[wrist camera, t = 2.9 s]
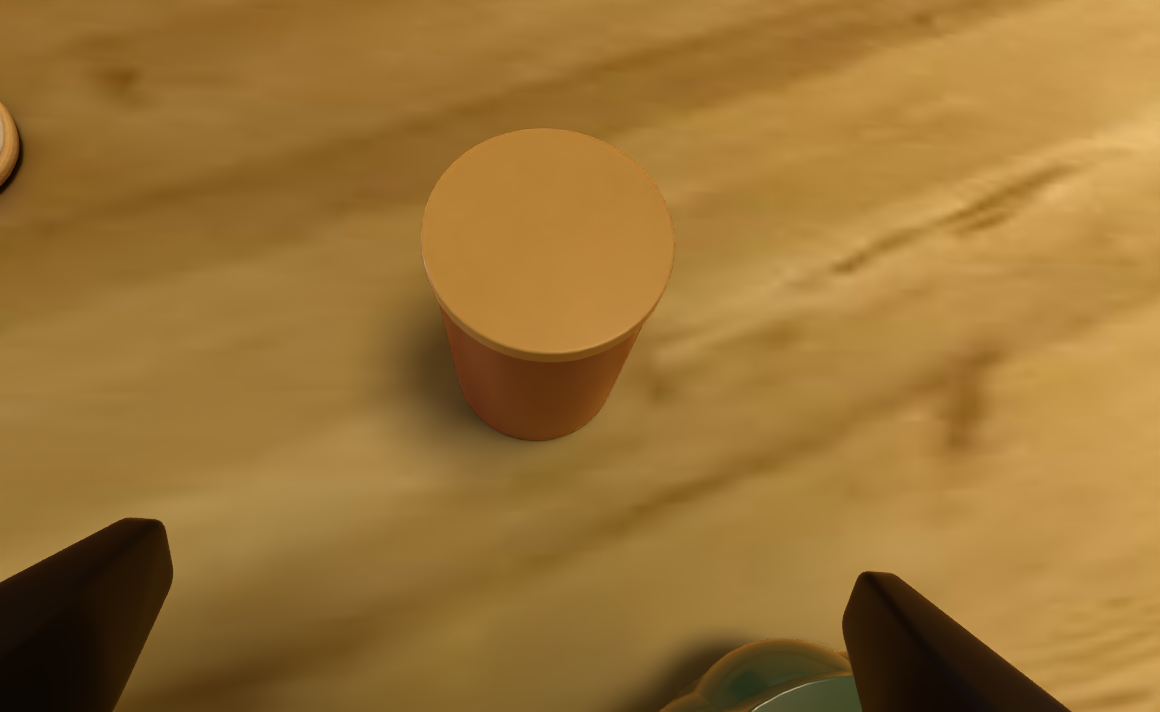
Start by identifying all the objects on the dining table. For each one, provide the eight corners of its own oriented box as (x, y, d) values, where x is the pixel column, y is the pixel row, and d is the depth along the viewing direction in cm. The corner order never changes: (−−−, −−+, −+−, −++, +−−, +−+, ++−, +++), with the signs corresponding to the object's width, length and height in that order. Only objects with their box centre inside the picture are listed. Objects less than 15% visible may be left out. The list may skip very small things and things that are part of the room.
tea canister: (470, 460, 22) (443, 377, 14) (441, 304, 24) (401, 145, 15) (635, 425, 23) (706, 327, 15) (596, 276, 25) (639, 112, 16)
